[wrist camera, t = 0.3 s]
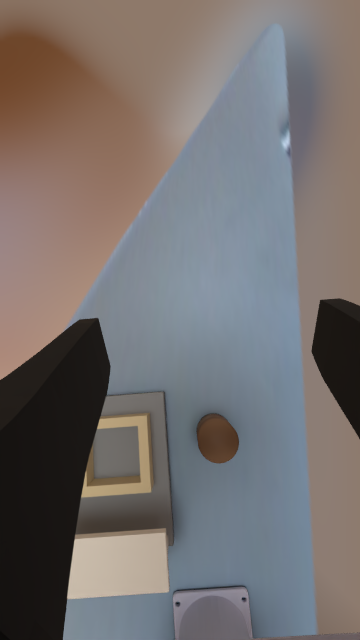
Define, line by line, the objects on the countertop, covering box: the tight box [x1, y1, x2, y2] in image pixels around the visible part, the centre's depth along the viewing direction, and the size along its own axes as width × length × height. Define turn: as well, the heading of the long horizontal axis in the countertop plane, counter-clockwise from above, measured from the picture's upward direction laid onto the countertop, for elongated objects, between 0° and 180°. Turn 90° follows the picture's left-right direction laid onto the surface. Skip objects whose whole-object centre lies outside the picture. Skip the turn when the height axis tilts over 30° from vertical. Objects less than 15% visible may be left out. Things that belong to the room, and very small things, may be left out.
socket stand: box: [67, 391, 174, 599], centre depth 32 cm, size 16×11×9 cm
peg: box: [197, 414, 239, 463], centre depth 34 cm, size 4×4×6 cm
